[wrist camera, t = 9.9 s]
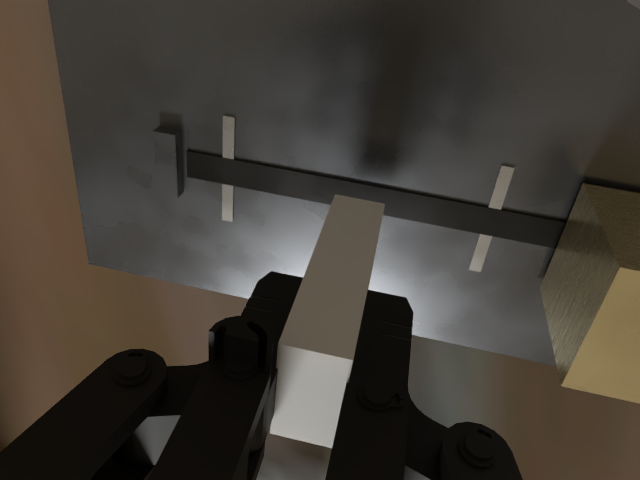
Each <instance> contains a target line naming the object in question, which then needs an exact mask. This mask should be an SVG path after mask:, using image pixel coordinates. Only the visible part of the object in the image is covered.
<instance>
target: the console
mask: <svg viewBox="0 0 640 480" xmlns="http://www.w3.org/2000/svg"><path fill="white" fill-rule="evenodd" d="M48 4H49V11H50V17H51V24H52V30H53V36H54V43H55V49H56V56H57V62H58V68H59V75H60V81H61V88H62V94H63V101H64V107H65V113H66V120H67V126H68V133H69V139H70V145H71V152H72V158H73V165H74V171H75V178H76V184H77V190H78V197H79V203H80V210H81V216H82V222H83V229H84V235H85V242H86V248H87V255H88V261H89V264H92V265H96V266H101V267H105V268H110V269H114V270H119V271H124V272H128V273H133V274H137V275H142V276H146V277H151V278H156V279H160V280H165V281H169V282H174V283H179V284H183V285H188V286H192V287H197V288H201V289H206V290H211V291H215V292H220V293H224V294H229V295H233V296H238V297H243V298H247V299H249V298H250V297H251V294H252V292H253V290H254V288H255V286H256V284H257V282H258V281H259V280H260V279H261V278H263V277H264V276H265V275H267V274H268V273H269V272H271V271H273V272H278V273H283V274H288V275H293V276H298V277H304V275H305V272H306V269H307V267H308V264H309V261H310V259H311V256H312V254H313V251H314V248H315V246H316V243H317V240H318V238H319V235H320V233H321V230H322V227H323V225H324V222H325V219H326V217H327V214H328V212H329V209H330V206H331V204H332V201H333V198H334V196H335V194H336V195H341V196H347V197H352V198H357V199H363V200H368V201H373V202H378V203H384V204H385V207H384V212H383V217H382V222H381V227H380V232H379V237H378V243H377V248H376V253H375V258H374V263H373V268H372V273H371V278H370V283H369V288H368V290H372V291H377V292H382V293H387V294H391V295H396V296H401V297H406V298H407V300H408V302H409V304H410V306H411V308H412V310H413V312H414V313H413V326H412V335H417V336H421V337H426V338H430V339H435V340H439V341H444V342H449V343H453V344H458V345H462V346H467V347H471V348H476V349H481V350H485V351H490V352H494V353H499V354H503V355H508V356H513V357H517V358H522V359H526V360H531V361H536V362H540V363H545V364H549V365H554V366H557V365H556V360H555V356H554V351H553V346H552V342H551V337H550V332H549V328H548V323H547V318H546V314H545V309H544V304H543V300H542V295H541V290H540V287H541V284H542V282H543V279H544V277H545V274H546V272H547V269H548V267H549V265H550V262H551V260H552V257H553V255H554V252H555V250H556V247H557V245H558V243H559V240H560V238H561V235H562V233H563V230H564V228H565V225H566V223H567V221H568V218H569V216H570V213H571V211H572V208H573V206H574V203H575V201H576V199H577V196H578V194H579V191H580V189H581V186H582V184H583V183H585V184H590V185H596V186H602V187H607V188H613V189H618V190H624V191H629V192H635V193H640V9H638V8H637V7H635V6H633V5H632V4H630V3H629V2H627V0H48Z"/></svg>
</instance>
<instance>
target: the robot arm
mask: <svg viewBox="0 0 640 480" xmlns="http://www.w3.org/2000/svg"><path fill="white" fill-rule="evenodd" d="M384 207H385V204H384V203H378V202H373V201H368V200H363V199H357V198H352V197H347V196H341V195H336V194H335V196H334V198H333V201H332V204H331V206H330V209H329V212H328V214H327V217H326V219H325V222H324V225H323V227H322V230H321V233H320V235H319V238H318V240H317V243H316V246H315V248H314V251H313V254H312V256H311V259H310V261H309V264H308V267H307V269H306V272H305V275H304V277H298V276H293V275H288V274H283V273H278V272H273V271H271V272H269V273H268V274H267V275H265V276H264V277H263V278H261V279H260V280H259V281H258V282H257V284H256V286H255V288H254V290H253V292H252V294H251V297H250V298H249V300H248V302H247V304H246V308H244V310H243V312H242V314H241V316H235V317H229V318H225V319H223V320H221V321H219V322H217V323H215V325H214V326H213V327H212V328H211V329H210V330H209V361H207V362H204V363H201V364H197V365H189V366H167V365H166V363H165V361H164V359H163V358H162V357H161V356H160V355H158V354H157V353H155V352H153V351H149V350H145V349H129V350H126V351H123V352H119V353H117V354H115V355H114V356H112V357H110V358H109V359H107V360H106V361H105V362H104V363H102V364H101V365H100V366H99V367H98V368H97V369H96V370H94V371H93V372H92V373H91V374H90V375H89V376H87V377H86V378H85V379H84V380H83V381H82V382H81V383H79V384H78V385H77V386H76V387H75V388H74V389H73V390H71V391H70V392H69V393H68V394H67V395H66V396H64V397H63V398H62V399H61V400H60V401H59V402H58V403H56V404H55V405H54V406H53V407H52V408H51V409H50V410H48V411H47V412H46V413H45V414H44V415H43V416H41V417H40V418H39V419H38V420H37V421H36V422H35V423H33V424H32V425H31V426H30V427H29V428H28V429H26V430H25V431H24V432H23V433H22V434H21V435H20V436H18V437H17V438H16V439H15V440H14V441H13V442H12V443H10V444H9V445H8V446H7V447H6V448H5V449H3V450H2V451H1V452H0V480H256V478H257V475H258V472H259V469H260V466H261V463H262V460H263V457H264V449H265V439H266V436H267V433H268V430H269V427H270V425H271V429H270V433H271V434H275V435H279V436H283V437H287V438H291V439H296V440H300V441H304V442H308V443H312V444H317V445H321V446H325V447H329V448H332V451H331V456H330V461H329V465H328V470H327V475H326V479H325V480H523V479H522V477H521V474H520V471H519V469H518V466H517V464H516V461H515V458H514V456H513V453H512V451H511V449H510V448H509V446H508V444H507V443H506V441H505V440H504V439H503V438H502V437H501V436H500V435H498V434H497V433H496V432H495V431H494V430H492V429H490V428H488V427H486V426H484V425H482V424H477V423H472V422H463V423H456V424H455V425H453V426H451V427H450V428H447V427H445V426H443V425H441V424H439V423H437V422H435V421H433V420H432V419H430V418H429V417H427V416H426V415H424V414H423V413H422V412H421V411H420V410H419V409H418V408H417V407H416V406H415V405H414V403H413V402H412V400H411V398H410V395H409V393H408V374H409V362H410V350H411V338H412V326H413V313H414V312H413V310H412V308H411V306H410V304H409V302H408V300H407V298H406V297H401V296H396V295H391V294H387V293H382V292H377V291H372V290H368V288H369V283H370V278H371V273H372V268H373V263H374V258H375V253H376V248H377V243H378V237H379V232H380V227H381V222H382V217H383V212H384Z"/></svg>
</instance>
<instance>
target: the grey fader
mask: <svg viewBox="0 0 640 480" xmlns="http://www.w3.org/2000/svg"><path fill="white" fill-rule="evenodd" d="M627 2H629V3H630V4H632V5H633V6H635V7H637V8H638V9H640V0H627Z"/></svg>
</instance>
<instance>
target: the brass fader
mask: <svg viewBox="0 0 640 480" xmlns="http://www.w3.org/2000/svg"><path fill="white" fill-rule="evenodd" d="M540 290H541V295H542V300H543V304H544V309H545V314H546V318H547V323H548V328H549V332H550V337H551V342H552V346H553V351H554V356H555V360H556V365H557V370H558V374H559V379H560V384H561V386H563V387H568V388H572V389H577V390H581V391H586V392H590V393H595V394H599V395H604V396H608V397H613V398H617V399H622V400H626V401H631V402H635V403H640V193H635V192H629V191H624V190H618V189H613V188H607V187H602V186H596V185H590V184H585V183H583V184H582V186H581V189H580V191H579V194H578V196H577V199H576V201H575V203H574V206H573V208H572V211H571V213H570V216H569V218H568V221H567V223H566V225H565V228H564V230H563V233H562V235H561V238H560V240H559V243H558V245H557V247H556V250H555V252H554V255H553V257H552V260H551V262H550V265H549V267H548V269H547V272H546V274H545V277H544V279H543V282H542V284H541V287H540Z"/></svg>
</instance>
